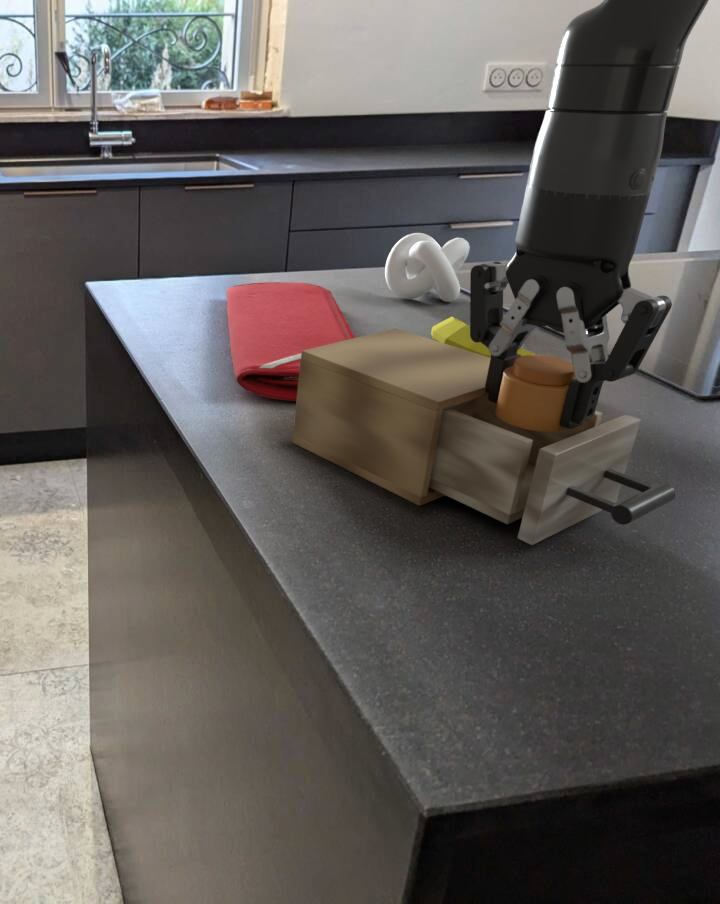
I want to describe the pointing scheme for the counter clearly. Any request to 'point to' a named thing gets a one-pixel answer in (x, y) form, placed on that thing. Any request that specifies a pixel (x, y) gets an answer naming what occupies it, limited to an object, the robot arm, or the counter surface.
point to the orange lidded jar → (534, 393)
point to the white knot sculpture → (425, 266)
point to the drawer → (539, 470)
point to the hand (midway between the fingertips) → (534, 411)
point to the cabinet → (384, 405)
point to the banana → (462, 337)
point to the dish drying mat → (279, 333)
